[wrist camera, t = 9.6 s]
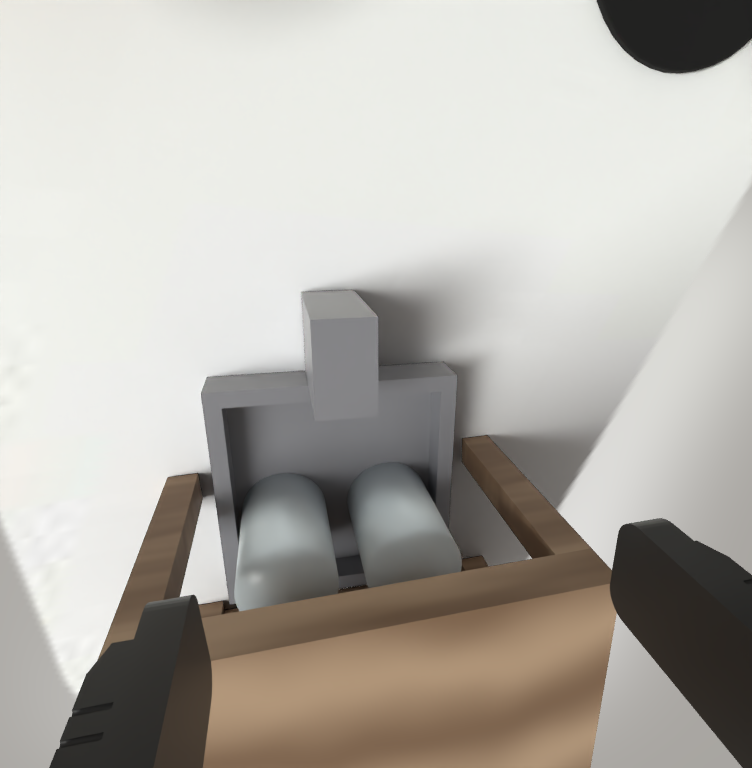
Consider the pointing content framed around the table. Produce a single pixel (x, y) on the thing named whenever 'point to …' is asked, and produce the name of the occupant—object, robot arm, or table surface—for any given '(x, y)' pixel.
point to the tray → (332, 465)
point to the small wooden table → (404, 650)
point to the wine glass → (679, 30)
